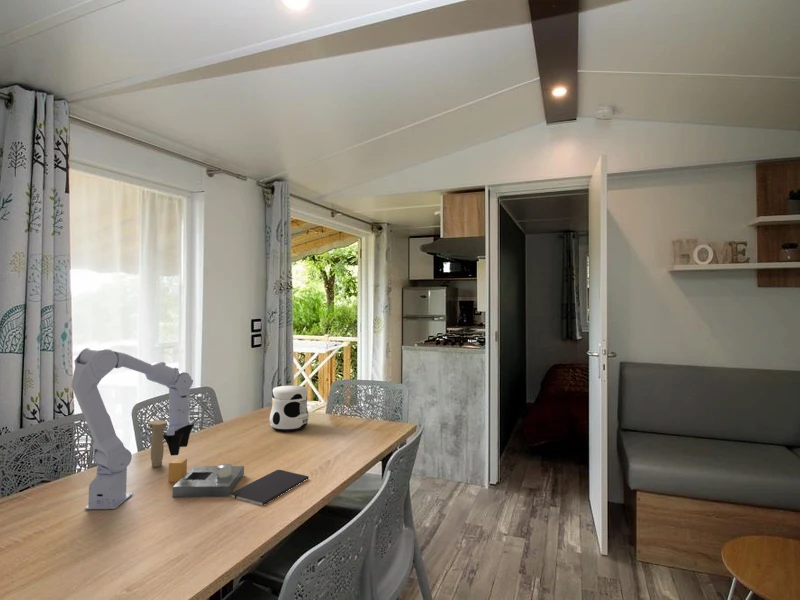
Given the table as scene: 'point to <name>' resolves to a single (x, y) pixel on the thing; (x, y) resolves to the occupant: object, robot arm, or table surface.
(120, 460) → the robot arm
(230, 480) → the hub plate
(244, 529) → the table surface
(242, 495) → the notebook
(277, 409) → the milk container
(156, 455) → the handle
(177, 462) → the orange rectangular block
